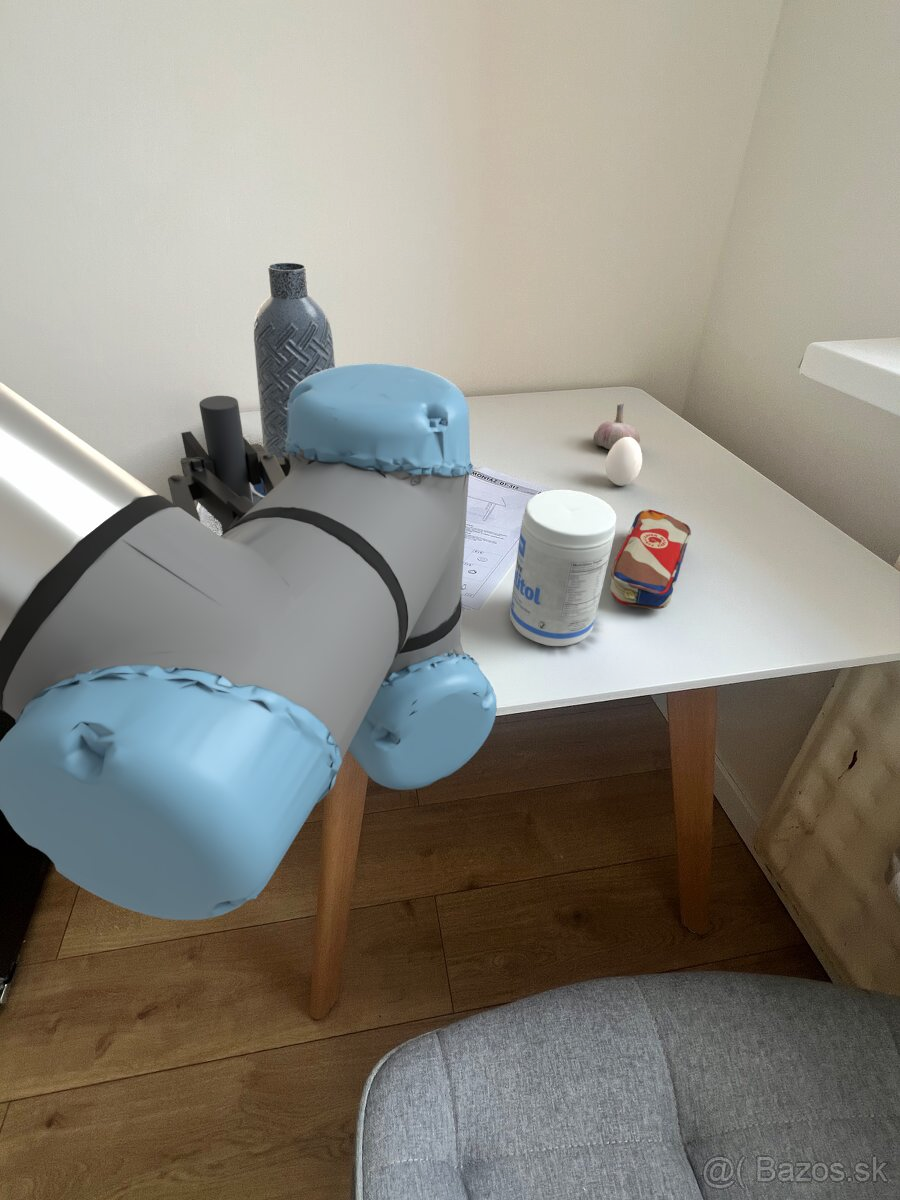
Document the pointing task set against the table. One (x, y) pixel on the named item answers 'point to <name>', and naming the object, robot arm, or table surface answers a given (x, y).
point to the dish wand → (226, 443)
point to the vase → (287, 347)
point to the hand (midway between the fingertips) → (209, 443)
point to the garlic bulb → (614, 431)
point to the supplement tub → (561, 566)
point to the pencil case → (649, 560)
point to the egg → (624, 461)
